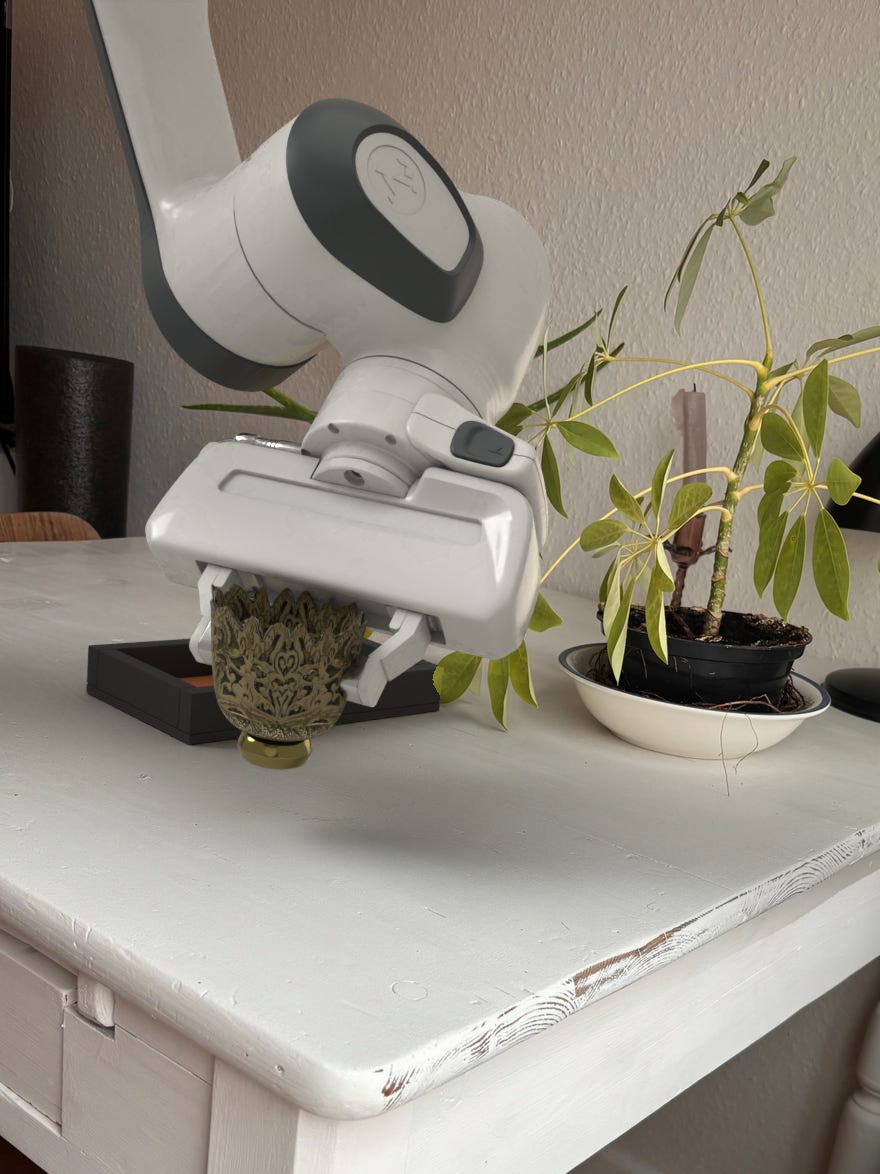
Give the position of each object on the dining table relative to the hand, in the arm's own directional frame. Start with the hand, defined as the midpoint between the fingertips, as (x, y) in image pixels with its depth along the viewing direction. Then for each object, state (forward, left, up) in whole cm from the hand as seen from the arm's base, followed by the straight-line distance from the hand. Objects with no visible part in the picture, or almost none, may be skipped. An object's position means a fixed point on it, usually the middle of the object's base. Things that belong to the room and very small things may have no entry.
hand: (279, 678), depth 62 cm
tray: (-18, +15, -8) cm, 25 cm away
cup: (0, 0, -5) cm, 5 cm away
